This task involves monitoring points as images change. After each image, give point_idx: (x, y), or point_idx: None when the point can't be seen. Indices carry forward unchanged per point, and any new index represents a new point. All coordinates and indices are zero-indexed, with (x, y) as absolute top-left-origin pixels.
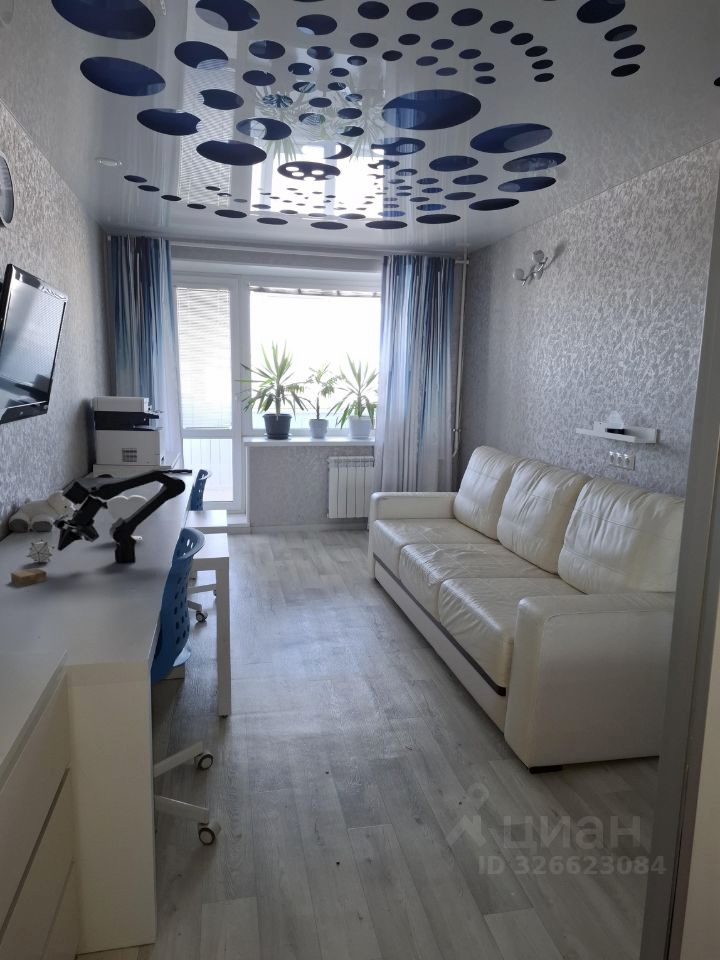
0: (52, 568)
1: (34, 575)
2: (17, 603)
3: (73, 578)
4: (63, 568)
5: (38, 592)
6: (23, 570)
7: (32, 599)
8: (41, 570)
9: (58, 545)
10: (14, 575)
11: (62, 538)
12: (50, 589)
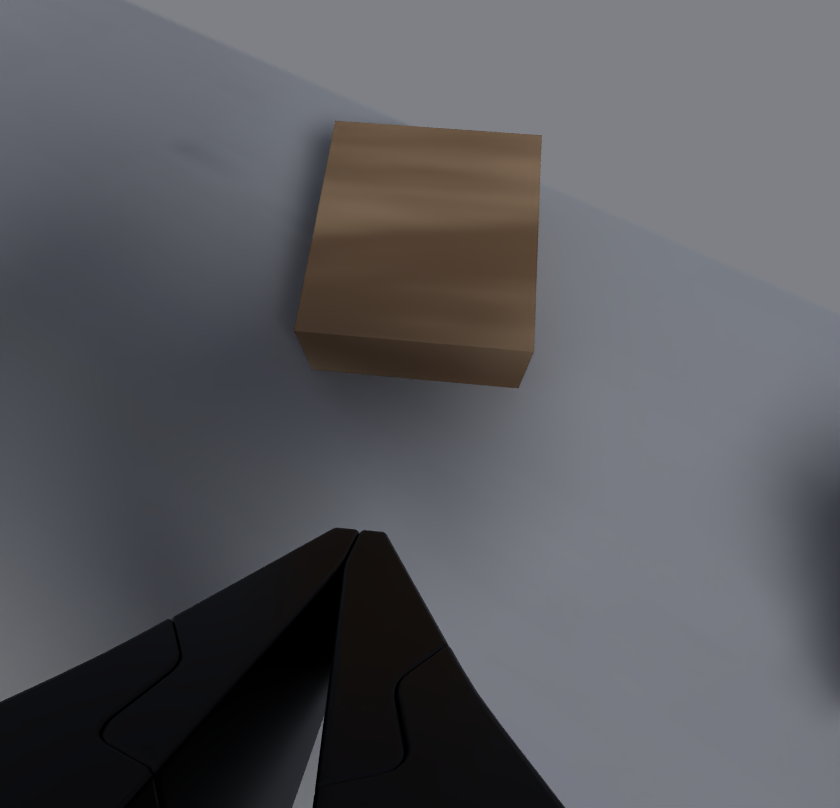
0: (661, 659)
1: (318, 230)
2: (43, 10)
3: (115, 550)
4: (556, 744)
5: (93, 169)
6: (532, 232)
7: (11, 82)
8: (382, 331)
9: (375, 555)
10: (469, 138)
11: (240, 650)
12: (61, 249)
